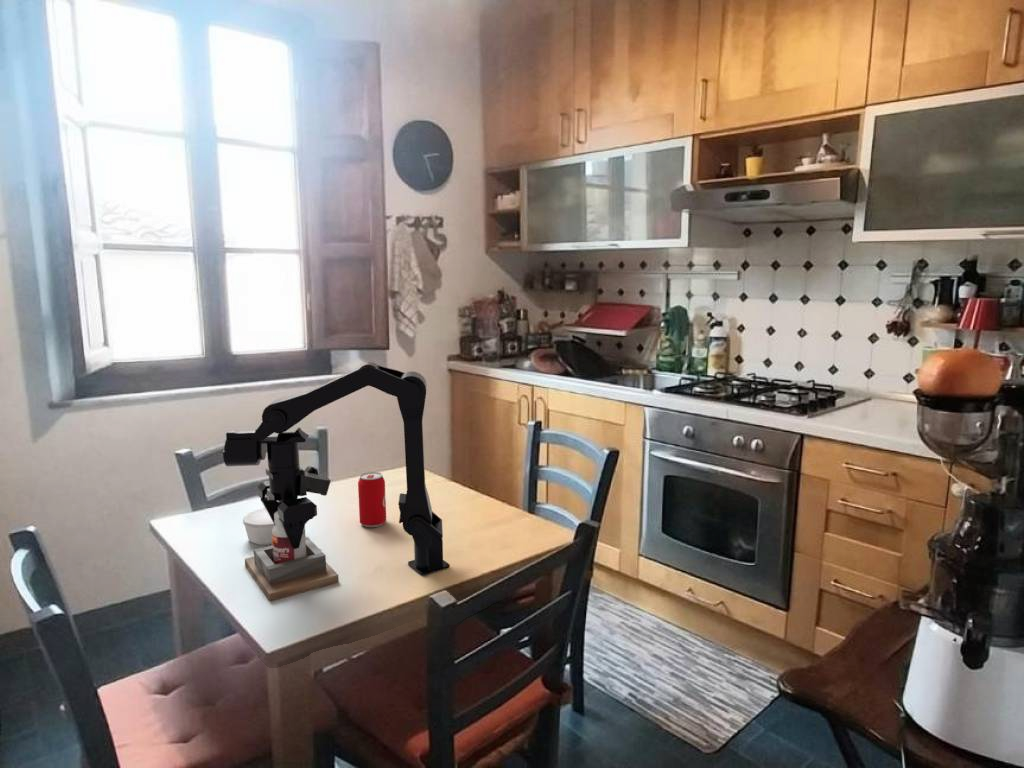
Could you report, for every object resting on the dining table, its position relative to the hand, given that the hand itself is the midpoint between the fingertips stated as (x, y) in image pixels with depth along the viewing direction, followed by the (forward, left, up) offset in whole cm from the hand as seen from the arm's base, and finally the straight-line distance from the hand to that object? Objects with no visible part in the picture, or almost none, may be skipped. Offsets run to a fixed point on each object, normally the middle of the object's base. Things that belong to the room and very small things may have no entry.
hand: (288, 540), depth 128 cm
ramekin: (+21, -2, -7) cm, 22 cm away
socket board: (0, 0, -7) cm, 7 cm away
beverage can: (+15, -24, -7) cm, 29 cm away
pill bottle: (0, 0, -6) cm, 6 cm away
